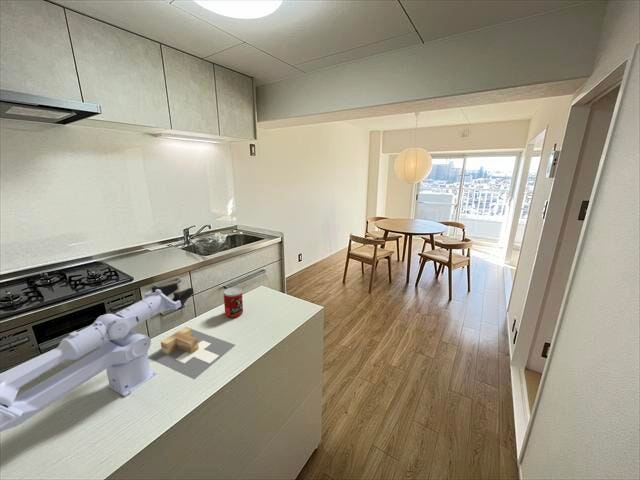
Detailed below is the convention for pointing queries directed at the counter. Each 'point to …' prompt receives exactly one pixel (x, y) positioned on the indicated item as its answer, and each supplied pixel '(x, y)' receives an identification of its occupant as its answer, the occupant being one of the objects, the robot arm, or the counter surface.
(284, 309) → the counter surface
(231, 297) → the canned food
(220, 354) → the mat
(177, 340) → the oak T-block
